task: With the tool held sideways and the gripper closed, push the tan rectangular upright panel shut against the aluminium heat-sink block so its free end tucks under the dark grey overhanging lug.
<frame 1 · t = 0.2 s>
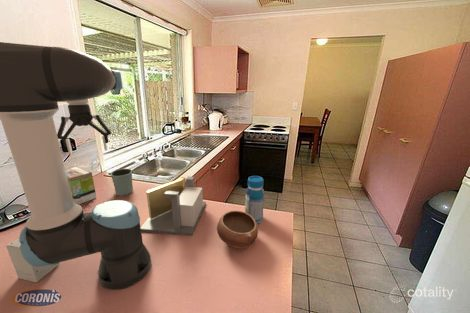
hand: (89, 151, 97), 27 cm above the worktop, tool pointing down, fingers open, 13 cm apart
supplement box: (40, 271, 68), on the worktop
drinking glass: (124, 192, 118), on the worktop
beverage bottle: (253, 219, 97), on the worktop
tea box: (80, 197, 112), on the worktop
tan rectangular upright panel: (168, 197, 97), point 8 cm above the worktop, hinge at -35.0°
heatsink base: (178, 216, 98), on the worktop
bowl: (237, 240, 83), on the worktop
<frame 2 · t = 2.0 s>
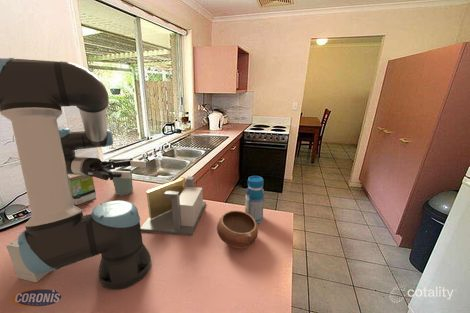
hand: (138, 169, 87), 24 cm above the worktop, tool horizontal, fingers open, 11 cm apart
nothing on the worktop moved.
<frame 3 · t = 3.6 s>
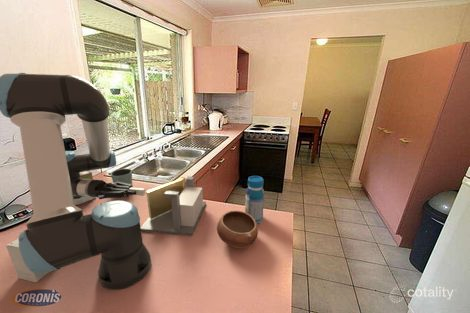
hand: (144, 192, 91), 13 cm above the worktop, tool horizontal, fingers closed
nothing on the worktop moved.
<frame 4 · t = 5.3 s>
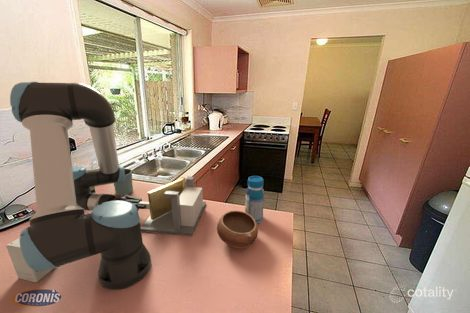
hand: (154, 205, 93), 7 cm above the worktop, tool horizontal, fingers closed
tan rectangular upright panel: (169, 197, 97), point 8 cm above the worktop, hinge at -31.2°, touching gripper
everything else where it was.
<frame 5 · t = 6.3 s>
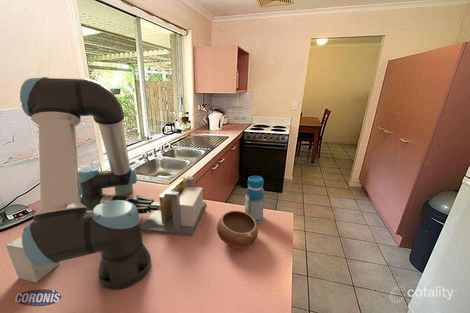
hand: (166, 207, 92), 7 cm above the worktop, tool horizontal, fingers closed
tan rectangular upright panel: (174, 199, 96), point 8 cm above the worktop, hinge at -10.1°, touching gripper
everything else where it was.
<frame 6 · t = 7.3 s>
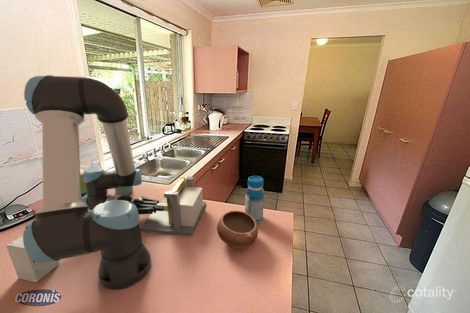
hand: (172, 207, 92), 7 cm above the worktop, tool horizontal, fingers closed
tan rectangular upright panel: (177, 199, 95), point 8 cm above the worktop, hinge at 0.2°, touching gripper
everything else where it was.
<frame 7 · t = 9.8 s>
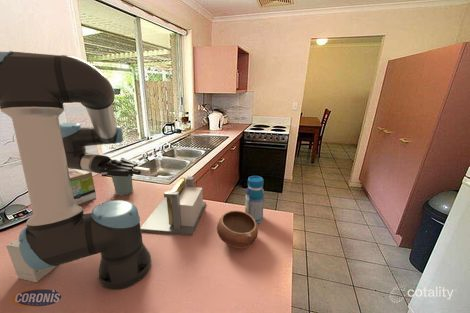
hand: (149, 172, 85), 24 cm above the worktop, tool horizontal, fingers closed
tan rectangular upright panel: (177, 199, 95), point 8 cm above the worktop, hinge at 0.2°
everything else where it was.
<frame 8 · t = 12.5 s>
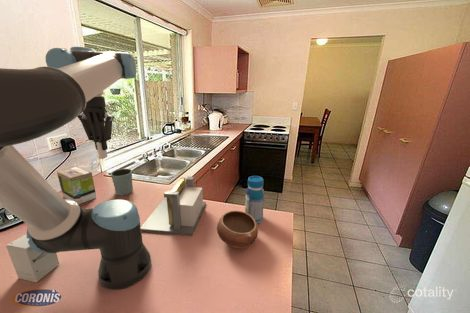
hand: (103, 157, 84), 29 cm above the worktop, tool pointing down, fingers closed
nothing on the worktop moved.
at the end: tan rectangular upright panel at +0° (first picture: -35°); beverage bottle moved 0.2 cm from its start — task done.
